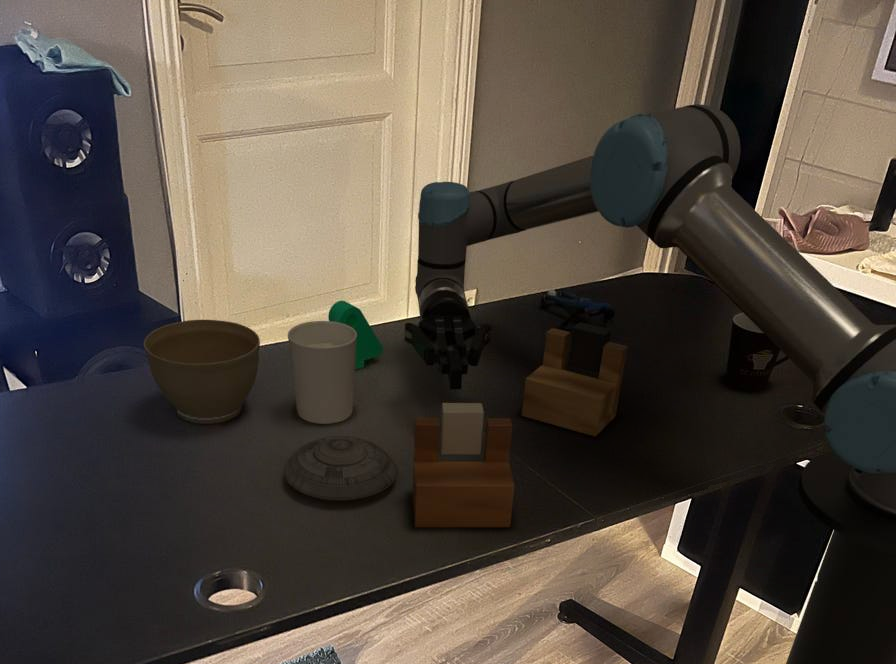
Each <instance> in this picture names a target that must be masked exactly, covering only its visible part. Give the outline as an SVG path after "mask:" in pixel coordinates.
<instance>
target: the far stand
mask: <svg viewBox="0 0 896 664" xmlns="http://www.w3.org/2000/svg"><path fill="white" fill-rule="evenodd" d="M570 336H571V331H565V330H563V329H559V328H553V327H551V328H550V329H549V330H547V331H546V334H545V343H544V350H543V359H542V364H541V365H540V366H539V367H538V368H536V370H534V371H533V372H532V373H531V374H529V375H528V376H527V377H525V381H524V388H523V399H522V408H521V409H522V410H521V417H524V418H528V419H531V420H535V421H538V422H542V423H546V424H550V425H553V426H557V427H560V428H564V429H566V430H570V431H575V432H577V433H581V434H585V435H588V436H591V437H597V436H598V435H599V434H600V433H601V432H602V431H603V430H604V428H605V427H607V426H608V424H609V423H611V421H612V420H614V418H615V417H616V416H617V410H618V404H619V399H620V394H621V387H622V381H623V376H624V371H625V365H626V359H627V353H628V347H629V346H628V345H624V344H620V343H615V342H612V341H610V342H608V343H606V344H605V345H604V346H603V352H602V359H601V365H600V372H599V373H598V377H597V378H596V377H592V376H589V375H585V374H581V373H576V372H573V371H569V370H566V367H567V360H568V352H569V344H570V338H571V337H570Z"/></svg>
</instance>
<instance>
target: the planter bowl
mask: <svg viewBox="0 0 896 664" xmlns="http://www.w3.org/2000/svg"><path fill="white" fill-rule="evenodd" d="M260 339H261V338H260V336H259V335H258V333H257V332H256V331H254V330H253V329H252V328H250V327H248V326H246V325H243V324H241V323H237V322H233V321H229V320H228V321H226V320H218V319H190V320H183V321H177V322H173V323H170V324H165V325H163V326H160V327H158V328H156V329H154V330H152V331H151V332H149V334H148V335H146V337H145V338H144V340H143V349H144V352H145V354H146V357H147V362H148V366H149V370H150V372H151V375H152V378H153V380H154V382H155V384H156V385H157V387H158V389H159V391H160V392H161V394H162V395H163V396H164V398H165V399H166V400H167V401H168V402H169V403H170V404H171V405H172V406H173V407H174V409H175V408H176V409H177V410H178V411H180V412H181V413H183V414H185V415H189V416H190V417H197V418H213V417H221V416H225V415H228V414H231V413H233V412H235V411H237V410H238V409H239V408H240V407H241V408H240V409H239V410H238V411H237V412H236V413H234V414H232V415H230V416H227V417H224V418H219V419H213V420H198V419H191V418H187V417H185V416H182V415H181V414H179V413H178V412H177V411H176V409H175V411H176V414H177V416H179V417H180V419H182V420H184V421H187V422H190V423H194V424H201V425H203V424H205V425H207V424H208V425H209V424H210V425H213V424H220V423H224V422H226V421H229V420H232V419H234V418H236V417H237V416H238V415H239V414H240V413H241V411H242V408H243V403H244V402H245V400H246V399H247V397H248V396H249V394H250V392H251V390H252V389H253V386H254V385H255V382H256V381H255V380H256V378H257V374H258V369H259V357H260V355H259V351H260V347H261V340H260ZM241 405H242V406H241Z"/></svg>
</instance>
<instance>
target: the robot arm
mask: <svg viewBox="0 0 896 664" xmlns="http://www.w3.org/2000/svg"><path fill="white" fill-rule="evenodd" d="M596 144H597V145H596V146H595V149H594V151H593V154H592V155H590V156H587V157H584V158H580V159H577V160H574V161H571V162H567V163H565V164H562V165H558V166H554V167H552V168H549V169H545V170H543V171H540V172H536V173H533V174H530V175H527V176H523V177H520V178H517V179H514V180H510V181H507V182H504V183H501V184H498V185H497V184H496V185H494V186H490V187H486V188H483V189H479V190H474V191H470V190H469V188H468V187H467V186H466V185H464V184H462V183H459V182H455V181H435V182H431V183H428V184H426V185H424V186H423V187H422V188H421V190H420V197H419V205H418V213H417V219H418V239H417V240H418V241H417V242H418V246H417V247H418V248H417V252H418V254H417V265H416V267H417V268H416V276H415V279H414V282H415V286H414V290H415V291H414V292H415V294H416V297H417V304H418V311H419V313H418V314H419V322H418V324H415V323H413V322H407V323H406V322H405V323H404V342H406V343H407V344H409V345H410V346H412V348H413V349H414V350H415V352H416V353H417V355H418V356H419V357H420V358H421V360H422V362H423V363H424V364H425V365H426V366H427V367H428V366H429V367H430V366H434V365H435V364H436V365H437V372H438V373H440V374H441V375H447V377H448V384H449V390H462V384H463V383H462V382H463V375H468V372H469V366H471V367H477V366H478V365H479V362H480V359H481V356H482V353H483V350H484V348H485V346H486V345H488V344H489V343H490V342H491V333H492V324H490V323H484V324H482V325H477V324H476V322H475V321H474V320H473V319H472V318H471V314H470V309H469V304H468V300H467V297H466V292H465V273H466V272H465V271H466V262H467V247H469V246H472V245H477V244H480V243H485V242H486V241H491V240H494V239H498V238H502V237H505V236H510V235H511V236H512V235H514V234H518V233H521V232H525V231H528V230H531V229H535V228H539V227H543V226H549V225H551V224H555V223H556V224H557V223H560V222H564V221H568V220H571V219H575V218H579V217H583V216H588V215H591V214H596V213H599V214H600V215H601V217H602V218H603V219H604V220H605V221H607V222H608V223H609V224H611V225H614V226H617V227H621V228H634V227H637V228H638V229H639V230H641V232H642V233H643V234H644V235H645V236H646V237H648V239H649V240H650V241H652V243H653V244H654V245H655V246H656V247H658V248H660V249H671V248H677V249H679V250H680V251H681V252H682V253H683V254H684V255H685V256H686V257H687V258H688V259H689V260H690V261H691V262H692V263H693V264H694V265H695V266H696V267H697V268H698V269H699V271H701V272H702V274H704V275H705V276H706V277H707V278H708V279H709V280H710V281H711V282H712V284H714V285H715V286H716V287H717V288H718V289H719V290H720V291H721V293H723V294H724V295H725V296H726V297H727V298H728V299H729V300H730V301H731V302H732V303H733V304H734V305H735V306H736V307H737V309H739V310H740V311H741V313H744V314H745V315H746V316H747V317H748V318H749V319H750V320H751V321H752V322H753V323H754V324H755V325H756V326H757V327H758V328H759V329H760V330H761V331H762V332H763V333H764V334H765V335H766V336H767V337H768V338H769V339H770V340H771V341H772V342H773V343H774V344H775V345H776V346H777V347H778V348H779V349H780V352H781V353H783V354H784V355H785V357H786V356H787V357H788V358H789V359H788V360H790V361H791V362H792V363H793V364H794V365H795V366H796V367H797V368H798V370H800V371H801V372H802V373H803V374H804V376H806V377H807V378H808V379H809V380H810V381H811V383H812V396H811V397H812V398H811V402H812V403H813V404H814V405H815V406H816V408H818V410H819V411H820V412H822V414H823V415H824V417H823V424H824V426H825V432H824V435H825V437H826V440H827V441H828V445H829V446H830V448H831V449H832V450H833V451H834V452H835V453H836V454H837V455H838V456H839V457H840V458H841V459H842V460H843V461H844V462H846V463H847V464H849V465H851V466H852V467H851V469H850V472H849V475H848V478H847V480H846V488H847V491H848V493H849V494H850V496H851V497H852V498H853V499H854V500H855V501H856V502H857V503H859V504H860V505H861V506H863V507H864V508H866V509H867V510H869V511H871V512H873V513H875V514H877V515H879V516H882V517H884V518H887V519H890V520H893V521H896V324H878V325H877V324H874V323H873V322H872V321H871V320H870V319H869V318H868V317H867V316H866V315H864V314H863V312H862V311H860V310H859V309H858V308H857V307H856V306H855V305H854V304H853V303H852V302H851V301H850V300H849V299H848V298H847V297H845V295H844V294H843V293H841V291H840V290H838V289H837V288H836V286H835V285H833V284H832V283H831V282H830V281H829V280H828V279H827V278H826V277H825V276H824V275H823V274H822V273H821V272H820V271H819V270H817V268H816V267H814V266H813V265H812V263H810V262H809V261H808V259H806V257H804V256H803V255H802V254H801V253H800V252H799V251H798V250H797V249H796V248H795V247H794V246H793V245H792V244H791V243H790V242H789V241H787V240H786V238H785V237H784V236H782V235H781V234H780V233H779V231H777V230H776V229H775V228H774V227H773V226H772V225H771V224H770V223H769V222H768V221H767V220H766V219H765V218H764V217H763V216H761V214H759V213H758V212H757V211H756V209H755V208H753V206H752V205H750V204H749V203H748V202H747V201H746V200H745V199H744V198H743V197H742V196H741V195H740V194H739V193H737V191H735V190H734V188H733V187H732V181H733V178H734V175H735V174H736V172H737V169H738V167H739V162H740V157H741V150H742V149H741V139H740V136H739V132H738V130H737V127H736V126H735V123H734V122H733V121H732V119H731V118H730V117H729V116H728V115H727V114H726V113H725V112H723V110H721V109H718V108H717V107H714V106H711V105H709V104H708V105H707V104H699V103H695V104H690V105H683V106H680V107H675V108H669V109H665V110H659V111H652V112H649V113H648V112H647V113H637V114H634V115H631V116H630V117H629V118H628V117H627V118H625V119H623V120H620V121H617V122H616V123H614V124H613V125H611V126H610V127H609V128H608V129H607V130H606V131H605V133H603V134H602V136H601V137H600V139H599V141H598V143H596ZM471 338H473V339H472V341H471V344H470V347H469V349H468V350H467V345H468V344H466V341H468V340H469V339H471ZM448 347H452V350H451V349H450V350H448V349H449V348H448Z"/></svg>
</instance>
